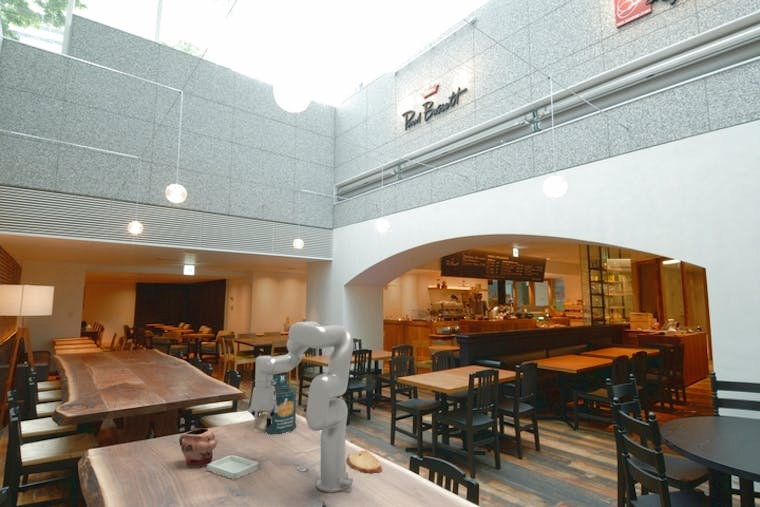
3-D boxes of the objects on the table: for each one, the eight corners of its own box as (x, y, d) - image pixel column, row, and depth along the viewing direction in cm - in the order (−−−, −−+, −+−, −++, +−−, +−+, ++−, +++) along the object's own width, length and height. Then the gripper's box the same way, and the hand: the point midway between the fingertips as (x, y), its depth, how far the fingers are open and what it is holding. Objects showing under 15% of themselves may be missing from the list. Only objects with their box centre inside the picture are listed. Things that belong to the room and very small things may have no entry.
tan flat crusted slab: (380, 475, 157) (380, 465, 157) (338, 472, 161) (338, 462, 162) (389, 458, 174) (389, 449, 175) (351, 455, 178) (351, 446, 179)
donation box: (286, 423, 228) (286, 374, 232) (299, 429, 216) (300, 377, 220) (259, 429, 218) (260, 377, 221) (272, 436, 206) (273, 381, 209)
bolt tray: (259, 468, 165) (259, 462, 165) (234, 480, 154) (234, 473, 155) (231, 460, 175) (231, 454, 175) (206, 470, 164) (206, 464, 164)
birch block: (271, 423, 178) (272, 412, 179) (263, 432, 166) (263, 419, 167) (263, 423, 178) (263, 412, 179) (253, 432, 166) (254, 419, 167)
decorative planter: (166, 467, 168) (168, 433, 170) (186, 456, 180) (188, 425, 182) (206, 471, 163) (207, 436, 165) (224, 460, 175) (225, 427, 177)
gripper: (284, 382, 178) (284, 424, 176) (248, 382, 179) (247, 424, 176) (280, 385, 171) (279, 429, 168) (242, 386, 171) (241, 430, 169)
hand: (263, 426), depth 172 cm, fingers closed on birch block, 4 cm apart
